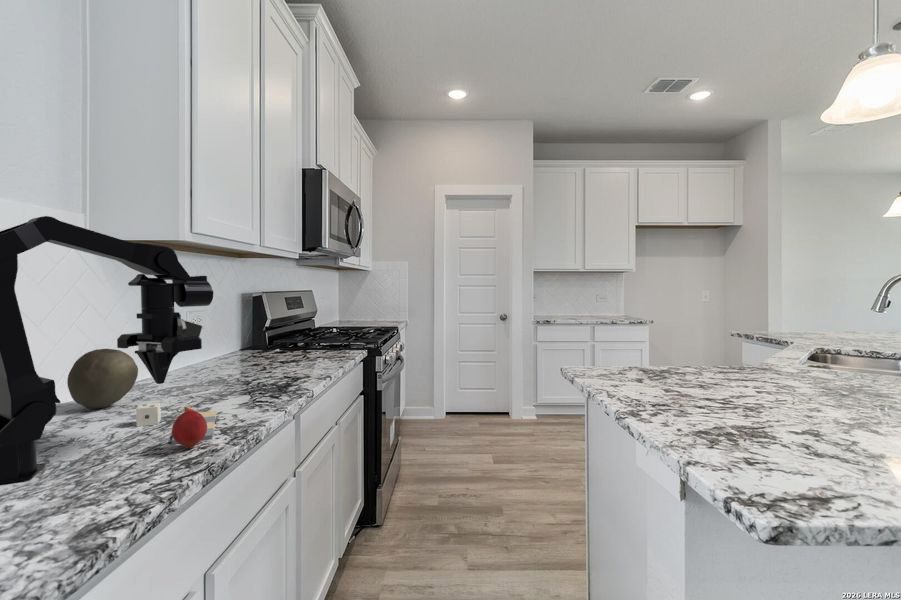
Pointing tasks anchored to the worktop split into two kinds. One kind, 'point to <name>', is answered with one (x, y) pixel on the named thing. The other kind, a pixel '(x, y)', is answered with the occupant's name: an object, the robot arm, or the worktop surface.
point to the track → (210, 420)
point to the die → (148, 414)
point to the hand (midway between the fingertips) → (160, 383)
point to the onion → (189, 428)
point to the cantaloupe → (101, 377)
